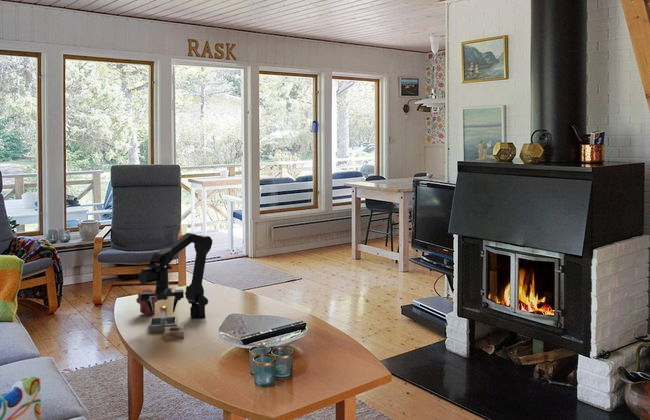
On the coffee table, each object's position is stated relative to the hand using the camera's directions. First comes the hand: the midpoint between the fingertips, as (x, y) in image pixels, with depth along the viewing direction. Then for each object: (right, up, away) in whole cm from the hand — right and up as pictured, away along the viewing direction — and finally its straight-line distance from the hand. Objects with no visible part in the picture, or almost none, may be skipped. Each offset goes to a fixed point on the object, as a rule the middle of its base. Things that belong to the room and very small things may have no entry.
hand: (163, 313), depth 269 cm
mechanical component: (-13, -4, +20) cm, 24 cm away
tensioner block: (+8, -8, -11) cm, 15 cm away
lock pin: (0, -6, +1) cm, 6 cm away
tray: (0, -7, +1) cm, 7 cm away
